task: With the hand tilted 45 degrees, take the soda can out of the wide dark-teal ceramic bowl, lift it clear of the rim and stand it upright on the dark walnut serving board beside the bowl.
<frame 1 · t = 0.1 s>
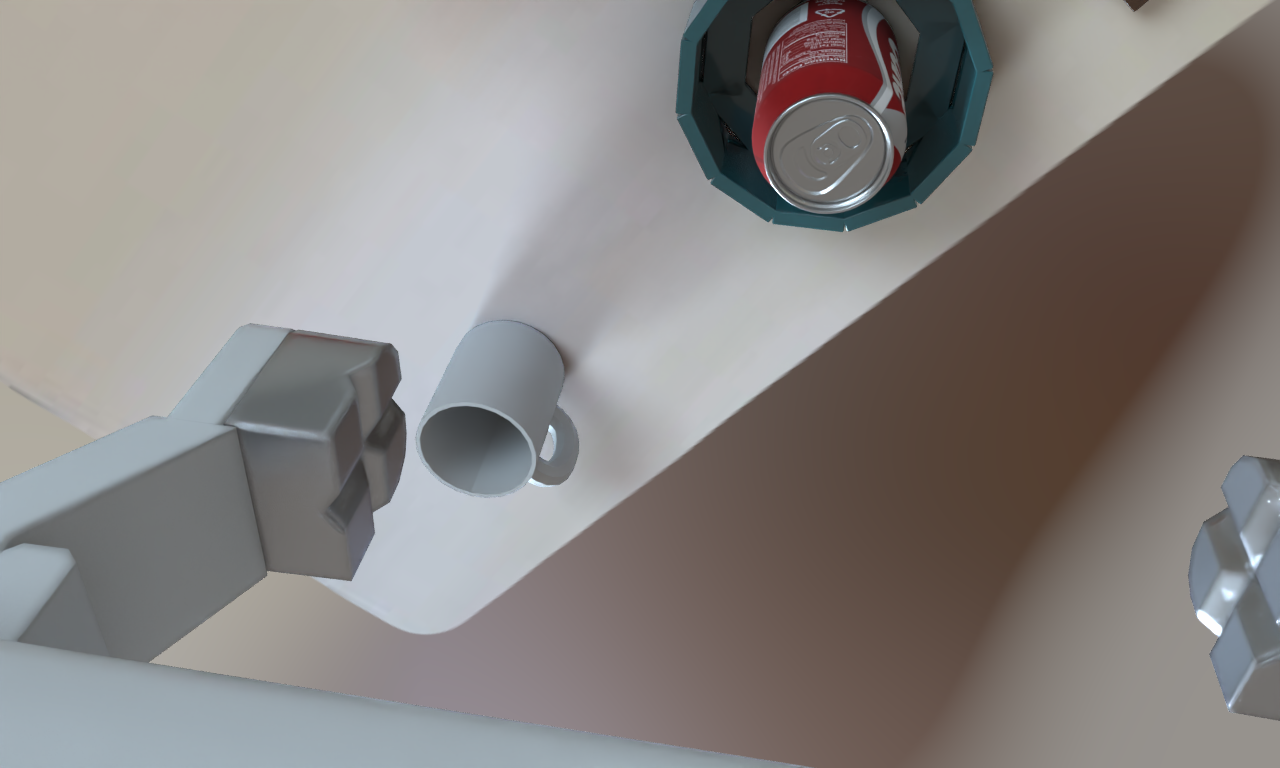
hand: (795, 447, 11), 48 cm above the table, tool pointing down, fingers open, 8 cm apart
soda can: (830, 55, 57), resting in bowl
bowl: (830, 56, 57), on the table
cup: (529, 374, 72), on the table
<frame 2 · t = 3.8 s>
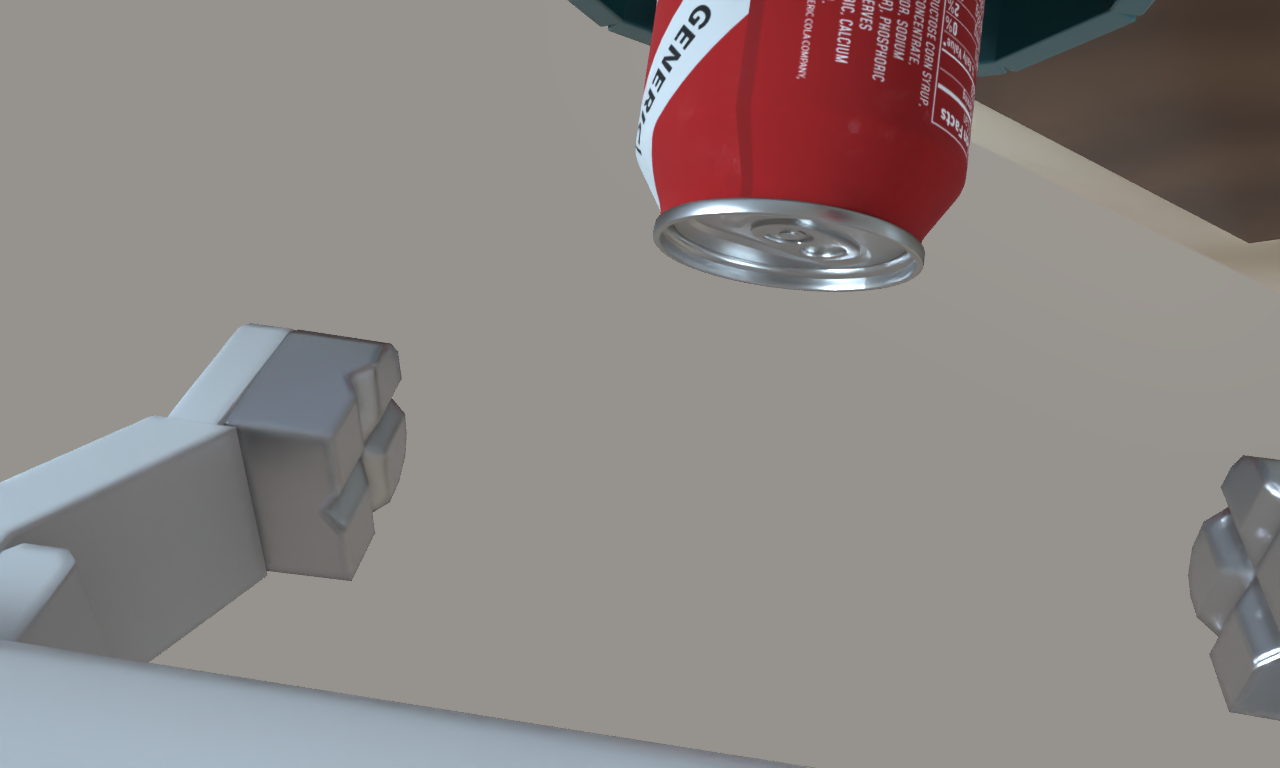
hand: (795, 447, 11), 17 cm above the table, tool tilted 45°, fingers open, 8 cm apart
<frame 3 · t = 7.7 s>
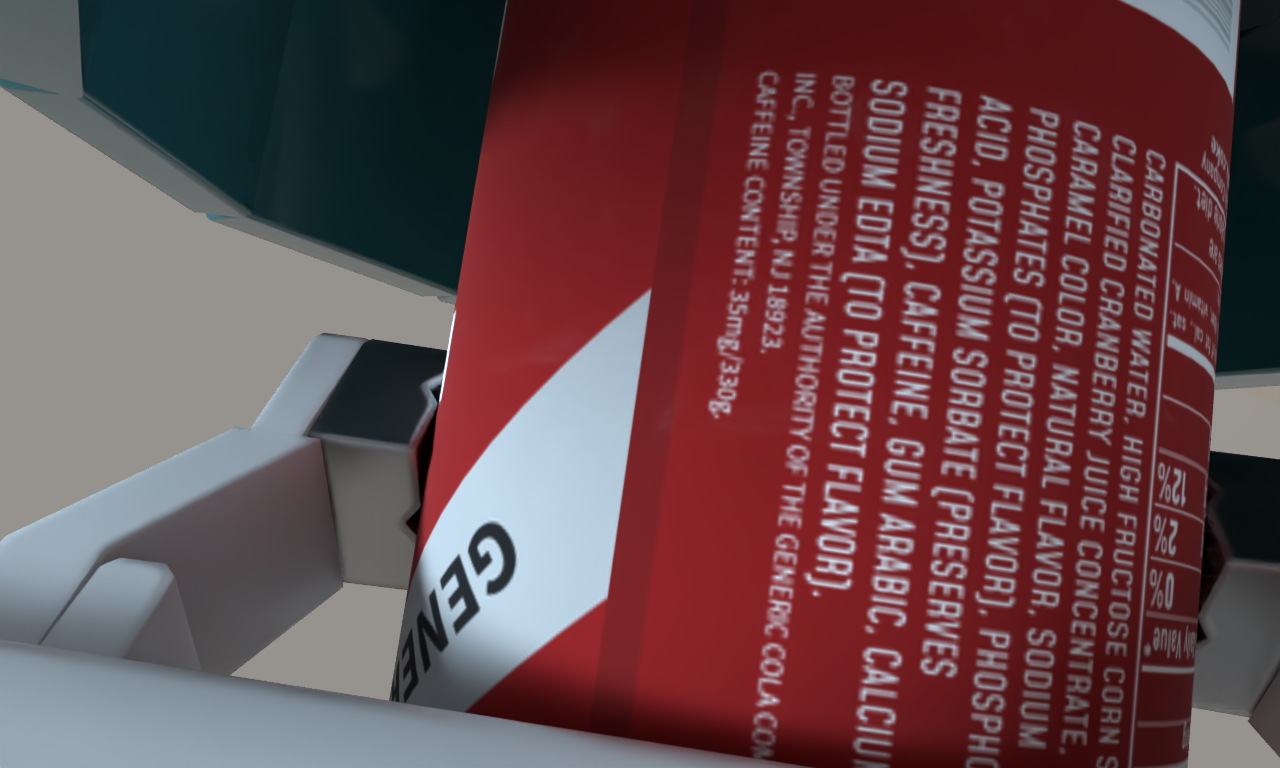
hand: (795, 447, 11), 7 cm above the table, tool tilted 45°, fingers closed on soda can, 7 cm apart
when the fingers open (8 cm above the table, at t = 16.4 s): soda can stays where it is, resting on serving board.
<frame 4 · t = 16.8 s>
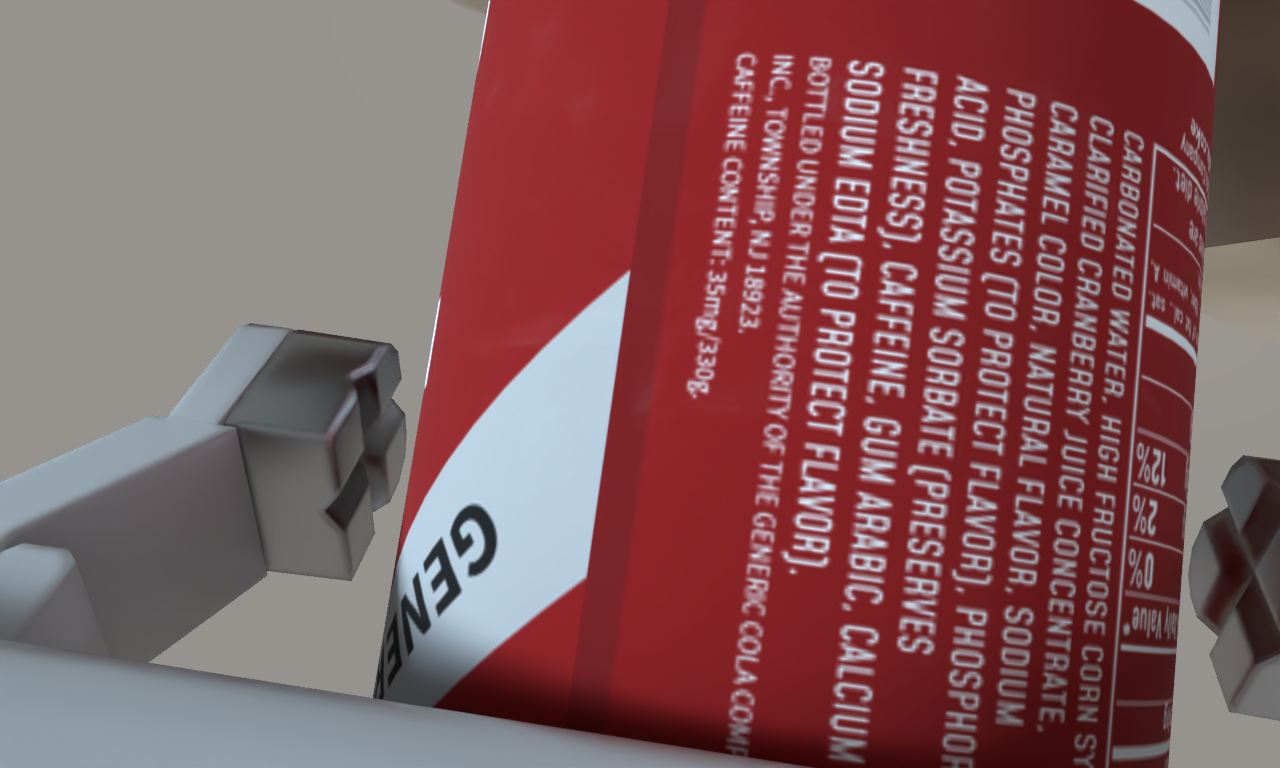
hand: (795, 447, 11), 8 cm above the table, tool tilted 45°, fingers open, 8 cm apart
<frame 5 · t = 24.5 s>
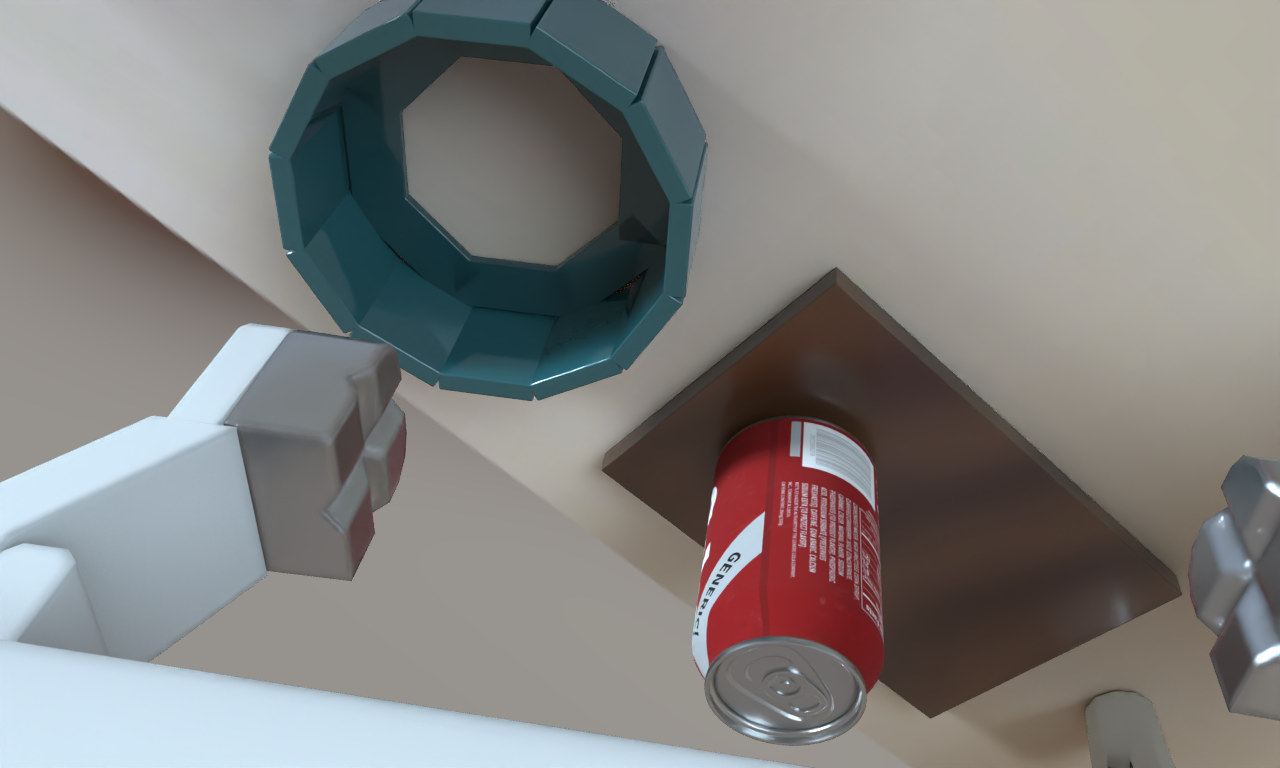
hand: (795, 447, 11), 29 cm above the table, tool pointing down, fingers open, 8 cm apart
soda can: (795, 464, 48), point 1 cm above the table, touching serving board
milkshake: (1109, 706, 55), on the table
bowl: (512, 165, 42), on the table
serving board: (889, 513, 50), on the table
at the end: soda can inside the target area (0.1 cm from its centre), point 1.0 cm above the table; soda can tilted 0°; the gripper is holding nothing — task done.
